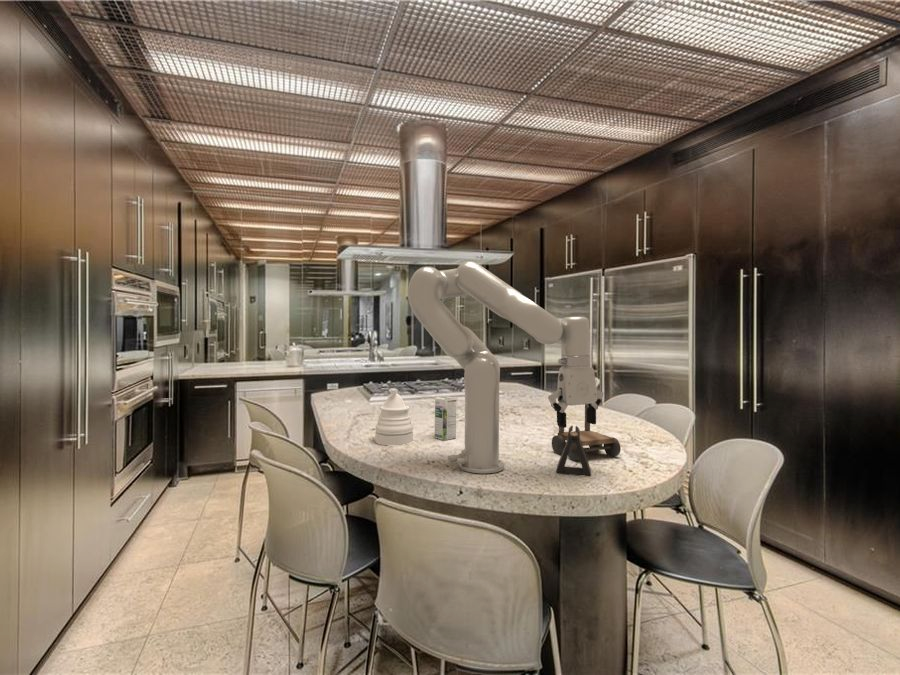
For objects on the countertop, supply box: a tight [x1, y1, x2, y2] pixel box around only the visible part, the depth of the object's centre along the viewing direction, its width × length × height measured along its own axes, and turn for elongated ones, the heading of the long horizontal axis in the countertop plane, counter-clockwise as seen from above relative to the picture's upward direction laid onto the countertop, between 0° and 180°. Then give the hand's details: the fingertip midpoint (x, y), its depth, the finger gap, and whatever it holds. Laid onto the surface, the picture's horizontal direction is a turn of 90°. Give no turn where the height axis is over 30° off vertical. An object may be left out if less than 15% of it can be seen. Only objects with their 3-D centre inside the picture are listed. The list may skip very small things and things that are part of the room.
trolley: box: [551, 404, 621, 462], centre depth 142 cm, size 15×14×19 cm
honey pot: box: [374, 388, 414, 446], centre depth 158 cm, size 13×13×18 cm
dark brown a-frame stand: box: [555, 425, 592, 477], centre depth 125 cm, size 9×6×12 cm, turn 74°
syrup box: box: [433, 396, 458, 441], centre depth 163 cm, size 6×6×14 cm
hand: (576, 425), depth 125 cm, fingers open, 9 cm apart
